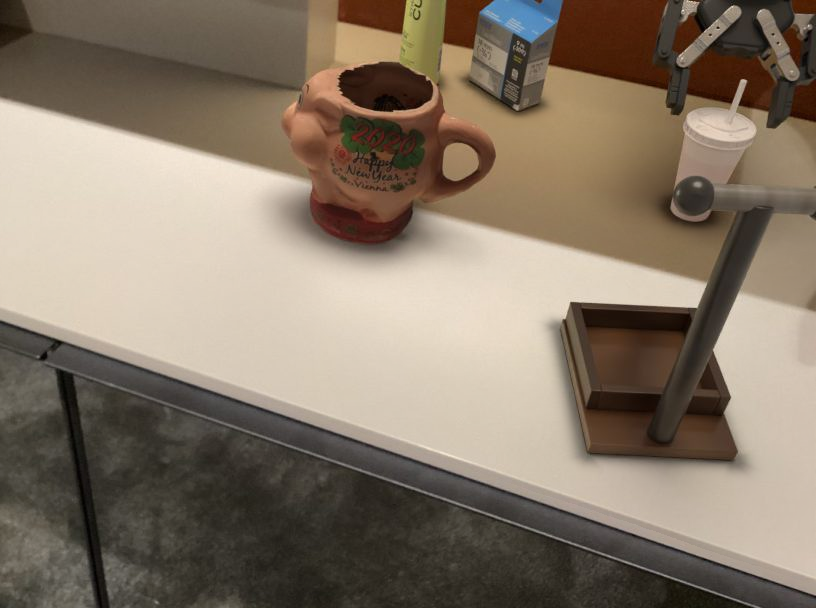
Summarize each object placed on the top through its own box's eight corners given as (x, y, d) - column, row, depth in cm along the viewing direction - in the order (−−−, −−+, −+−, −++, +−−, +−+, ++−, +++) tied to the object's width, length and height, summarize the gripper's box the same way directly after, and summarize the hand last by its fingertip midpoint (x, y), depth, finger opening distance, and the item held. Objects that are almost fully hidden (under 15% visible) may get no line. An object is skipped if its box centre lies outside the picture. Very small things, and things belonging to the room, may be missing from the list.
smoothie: (721, 235, 93) (775, 102, 83) (654, 221, 95) (698, 89, 85) (723, 200, 98) (774, 70, 88) (658, 187, 99) (701, 58, 89)
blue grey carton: (466, 80, 114) (482, -25, 106) (491, 72, 116) (509, -32, 107) (516, 112, 109) (538, 5, 101) (542, 104, 111) (565, -3, 102)
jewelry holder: (688, 333, 83) (791, 82, 66) (734, 460, 72) (869, 199, 56) (559, 327, 83) (631, 74, 67) (587, 453, 73) (680, 190, 56)
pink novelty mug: (488, 202, 96) (513, 71, 86) (471, 275, 88) (497, 139, 78) (295, 169, 99) (298, 40, 90) (261, 236, 91) (260, 101, 81)
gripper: (686, -85, 85) (654, 96, 85) (856, -68, 83) (823, 118, 83) (666, -46, 92) (636, 121, 92) (821, -29, 90) (791, 141, 90)
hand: (725, 119), depth 88 cm, fingers open, 8 cm apart
